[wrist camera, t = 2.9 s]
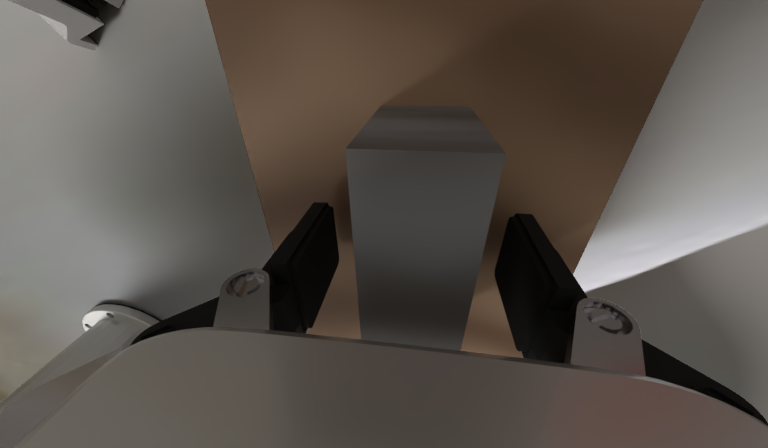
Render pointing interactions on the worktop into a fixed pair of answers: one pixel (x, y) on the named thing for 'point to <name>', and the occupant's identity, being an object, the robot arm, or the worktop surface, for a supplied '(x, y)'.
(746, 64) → the worktop surface
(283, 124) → the lid
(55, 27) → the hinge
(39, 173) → the worktop surface
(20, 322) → the worktop surface
